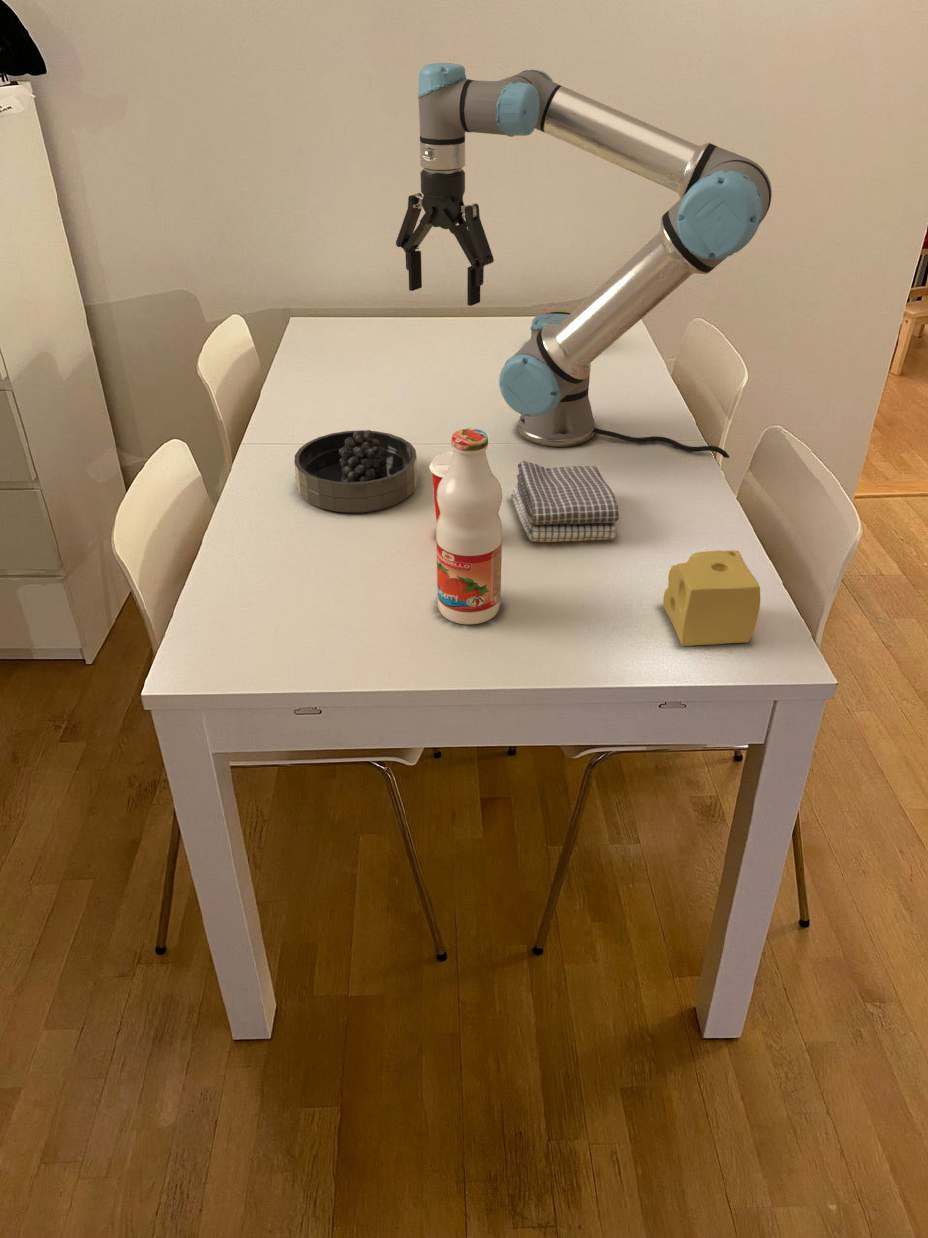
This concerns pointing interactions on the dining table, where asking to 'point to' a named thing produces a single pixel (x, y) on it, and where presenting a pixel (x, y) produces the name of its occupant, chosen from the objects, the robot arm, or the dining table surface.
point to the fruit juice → (469, 533)
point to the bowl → (327, 490)
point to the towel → (564, 503)
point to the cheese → (712, 599)
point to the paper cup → (439, 473)
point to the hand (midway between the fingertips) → (444, 296)
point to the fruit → (361, 457)
